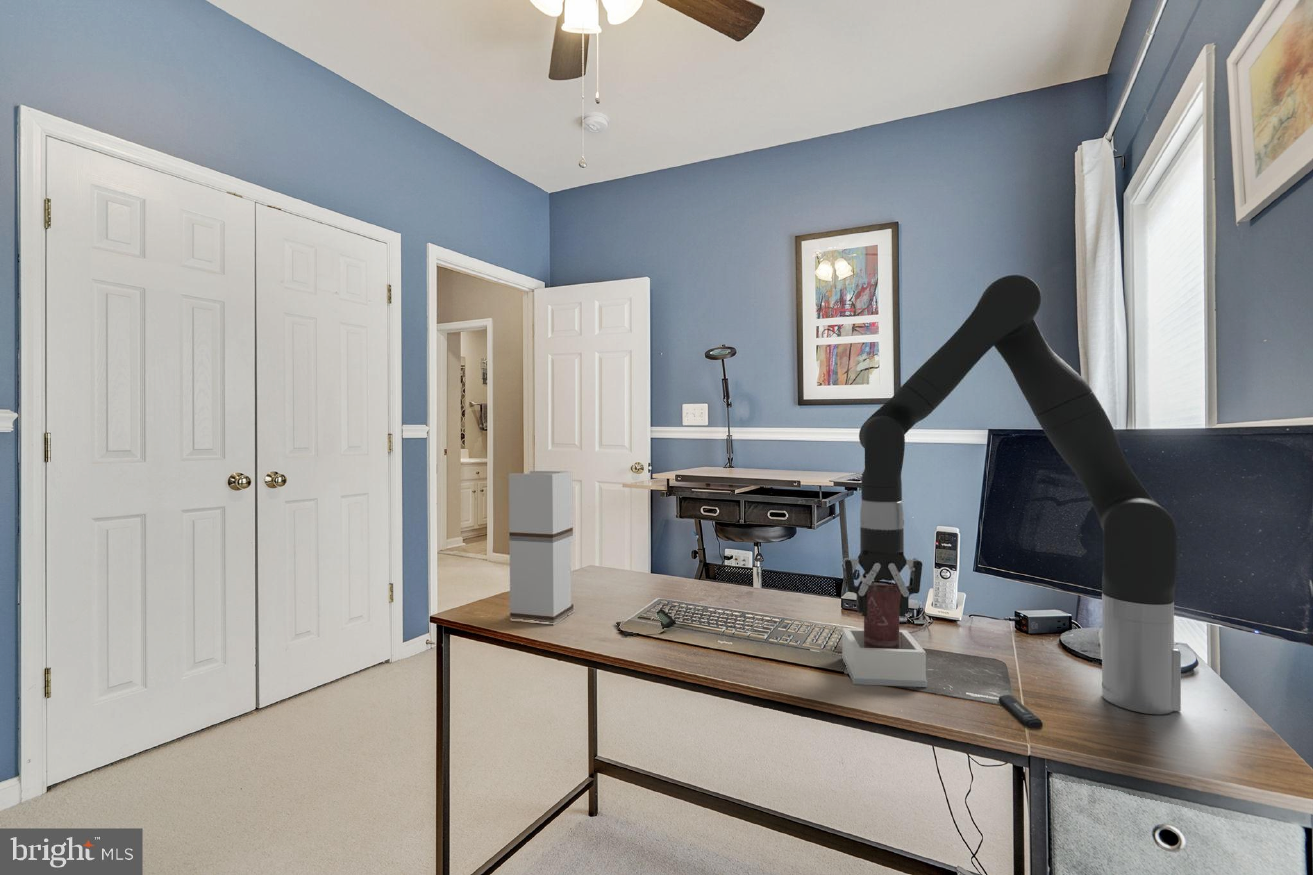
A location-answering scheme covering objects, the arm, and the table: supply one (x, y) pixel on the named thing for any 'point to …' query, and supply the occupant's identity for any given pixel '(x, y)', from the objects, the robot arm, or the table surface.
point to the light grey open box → (884, 661)
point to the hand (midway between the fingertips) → (882, 615)
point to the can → (882, 615)
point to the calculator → (665, 621)
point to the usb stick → (1020, 711)
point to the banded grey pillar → (540, 545)
